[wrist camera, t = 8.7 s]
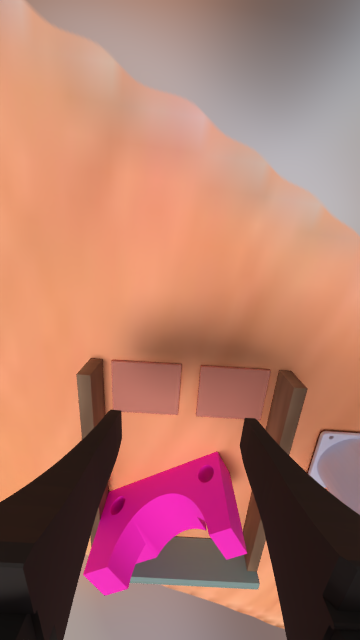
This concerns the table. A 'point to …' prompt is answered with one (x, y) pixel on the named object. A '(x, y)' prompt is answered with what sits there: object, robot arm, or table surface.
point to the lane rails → (278, 426)
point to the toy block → (163, 519)
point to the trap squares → (164, 385)
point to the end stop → (195, 566)
